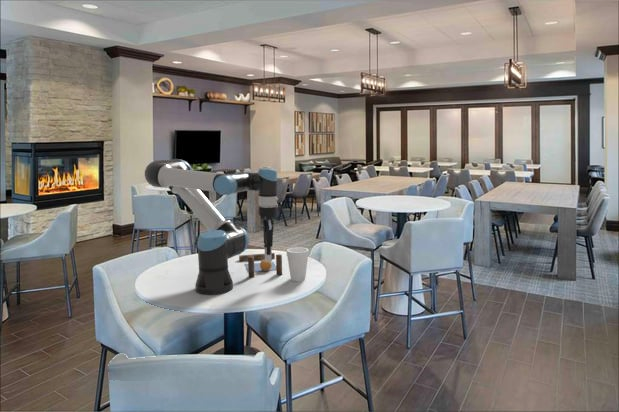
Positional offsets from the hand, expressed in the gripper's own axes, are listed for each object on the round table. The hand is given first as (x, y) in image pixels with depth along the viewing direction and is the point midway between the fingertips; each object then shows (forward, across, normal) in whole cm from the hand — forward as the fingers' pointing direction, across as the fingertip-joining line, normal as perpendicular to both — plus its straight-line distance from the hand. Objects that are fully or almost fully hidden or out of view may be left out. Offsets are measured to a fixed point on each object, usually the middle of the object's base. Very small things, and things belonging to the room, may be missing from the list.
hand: (268, 261), depth 188 cm
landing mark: (+10, +26, -1) cm, 28 cm away
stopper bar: (+11, +41, -1) cm, 43 cm away
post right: (+10, +12, -7) cm, 17 cm away
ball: (+7, +20, -2) cm, 22 cm away
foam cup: (+10, +3, -14) cm, 17 cm away
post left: (+10, +12, +6) cm, 17 cm away
